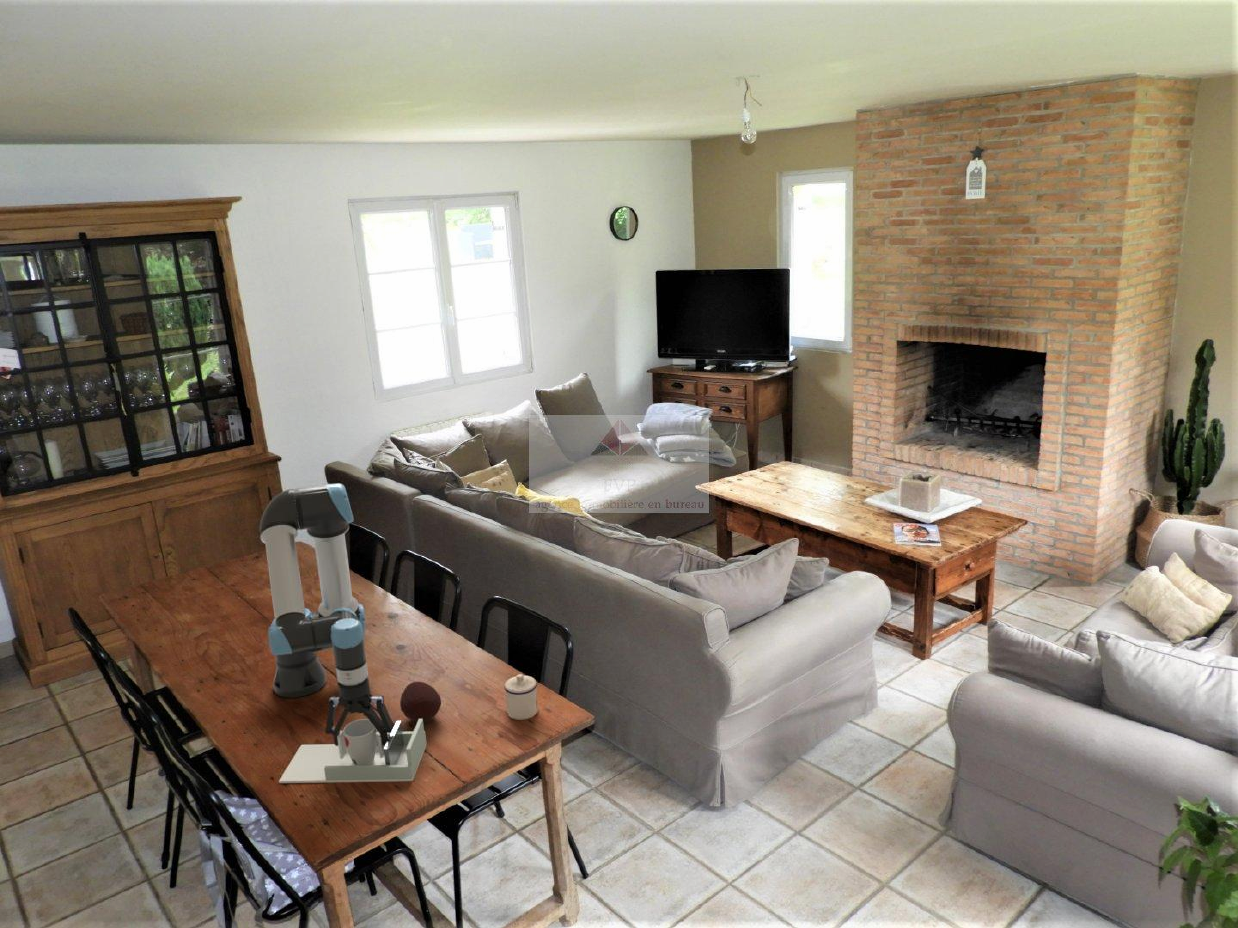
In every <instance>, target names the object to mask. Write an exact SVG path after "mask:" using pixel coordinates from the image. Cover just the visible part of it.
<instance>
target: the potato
mask: <svg viewBox="0 0 1238 928" xmlns="http://www.w3.org/2000/svg"><path fill="white" fill-rule="evenodd" d="M400 696H401V697H400V701H399V702H400V703H399V705H400V710H401V712H402V713H403V715H404V716H405V717H406V718H407V719H409V720H411V721H413V722H415V723H417V722H418V720H419V719H423V724H425V723H428V722H430V721H431V720H433V719H434V718H435V717H436V715H437V714H438V713H439V711H440V710H441V709H440V708H441V705H442V700H441V696H440V693H438V692H437V690H436V689H435V688H434V687H433V686H432V685H430V684H428V683H426V682H424V681H413V682H410V683H409V684H408V685H407V686H405V688H404V690H403V692H402V694H401V695H400Z"/></svg>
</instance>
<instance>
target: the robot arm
mask: <svg viewBox="0 0 1238 928" xmlns="http://www.w3.org/2000/svg"><path fill="white" fill-rule="evenodd" d="M354 521H355V519H354V515H353V511H352V508H351V504H350V501H349V496H348V493H347V490H346V487H345V485H344V484H343V483H338V482H337V483H326V484H322V485H315V486H314V485H313V486H307V487H306V486H305V487H300V488H299V487H298V488H290V489H286V490H284V491H282V492H279V493H277V495H276V496H274V497H273V498H272V499H271V500H270V501H269V503H268V504H267V506H266V507H265V508H264V510H263V513H262V516H261V519H260V523H259V537H260V540H261V542H262V543H263V544H265V551H266V560H267V561H266V562H267V568H268V575H269V583H270V590H271V591H270V592H271V599H272V600H271V601H272V608H273V614H274V615H273V616H274V619H273V621H272V623H271V625H270V626H269V627H268V630H267V632H268V634H267V635H268V636H267V637H268V642H269V649H270V652H271V654H272V655H273V656H274V657H275V662H276V668H275V669H276V670H275V675H274V678H273V690H274V692H275V694H276V695H278V696H280V697H283V698H289V699H290V698H300V697H306V696H309V695H312V694H313V693H316V692H317V691H319V690H321V689H322V688H323V687H324V686H325V685H326V683H327V673H326V670H325V669H324V667H323V665H322V663H321V662H320V659H319V658H318V655H317V653H318V652H321V651H326V650H331V649H332V651H333V657H334V662H335V663H334V665H335V673H336V679H337V686H338V694H339V696H335V695H331V696H330V698H329V700H328V701H327V705H328V714H327V717H326V718H327V719H326V723H325V725H326V726H325V730H324V731H325V734H326V735H330V734H331V735H332V736H333V742H334V743H333V744H335V746H338V747H339V754H340V759H343V758H344V756H345V754H346V746H345V739H344V733H343V730H341V728H342V726H343V724H344V722H345V721H346V718H347V716H348V714H355V713H356V714H363V716H364V717H366V718H367V719H368V720H370V722H371V723H372V724H373V725H374V727H375V728H376V732H379V734H378V736H377V737H378V745H379V753H380V758H383V757H384V747H385V745H386V743H387V741H388V736H387V733H391V732H392V730H393V728H394V725H395V724H394V723H393V721H392V719H391V716H390V714H389V712H388V709H387V707H386V705H385V699H384V698H385V696H384V695H383V694H379V695H378V696H373V695H372V693H371V686H370V685H371V684H370V679H369V672H368V671H369V670H368V665H367V664H368V663H367V657H366V649H365V640H364V639H365V634H366V620H365V618H366V617H365V616H366V615H365V614H366V613H365V609H364V605H363V604H361V603H359V601H358V600H357V598H355V597H354V596H353V593H352V592H353V591H352V584H351V575H350V568H349V567H350V566H349V559H348V551H347V542H346V541H347V540H346V533H348V531H349V529H350V524H351V523H353V522H354ZM302 530H306V532H307V534H308V536H309V537H312V538H313V543H314V550H315V557H316V563H317V570H318V571H317V572H318V580H319V586H320V592H321V593H320V594H321V599H322V601H321V602H320V604H319V605H318V610H317V611H315V612H311V610H310V609H309V608H308V607H305V602H304V595H303V587H302V581H301V574H300V567H299V560H298V553H297V546H296V539H297V538H298V535H299V532H298V531H302ZM372 703H373V704H374V706H375V707H376V709H377V712H378V714H377V712H376V711H375V710H374V707H373V705H372ZM339 704H340V705H341V706H342V708H344V709H343V711H342V713H341V715H340V717H339V718H338V721H337V723H336V725H335V726H334V722H335V717H336V711H337V706H338V705H339Z"/></svg>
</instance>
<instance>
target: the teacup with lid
mask: <svg viewBox="0 0 1238 928" xmlns="http://www.w3.org/2000/svg"><path fill="white" fill-rule="evenodd" d="M537 685H538V683H537V680H536V679H535V678H534V677H532V676H530V675H523V674H522V673H519V674H517V675H516V676H512V677H511V678H508V679H507V681H505V683H504V687H503V688H504V690H505V700H506V701H505V703H506V712H507V716H509V718H511V719H513V720H518V721H520V720H521V721H522V720H523V721H524V720H528V719H531V718H533V717H534V716H536V714H537V713H538V710H539V709H538V706H539V705H538V696H537V695H538V694H537V693H538V692H537V691H538V690H537Z"/></svg>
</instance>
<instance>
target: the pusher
mask: <svg viewBox="0 0 1238 928" xmlns="http://www.w3.org/2000/svg"><path fill="white" fill-rule="evenodd" d="M393 725H394V727H393V729H392V731H391V734H390V736H389V738H388V741H387V743H386V745H385V747H384V757H385V764H386V765H396V763H397V761H398V758H399V756H400V754H401V751H402V749H403V747H404V741H403V733H402V732H403V726H402V725H403V724H402V720H396V721H395V724H393Z"/></svg>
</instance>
